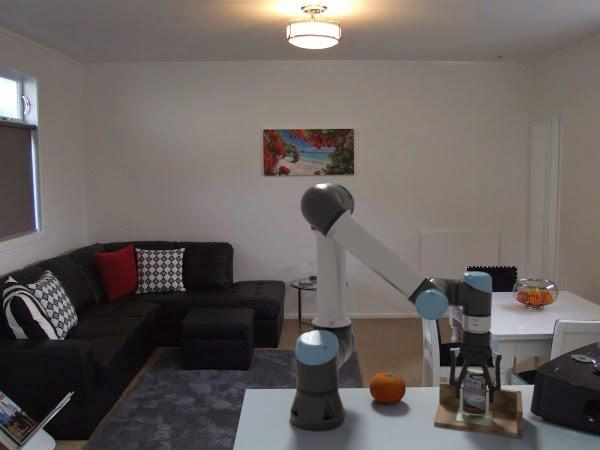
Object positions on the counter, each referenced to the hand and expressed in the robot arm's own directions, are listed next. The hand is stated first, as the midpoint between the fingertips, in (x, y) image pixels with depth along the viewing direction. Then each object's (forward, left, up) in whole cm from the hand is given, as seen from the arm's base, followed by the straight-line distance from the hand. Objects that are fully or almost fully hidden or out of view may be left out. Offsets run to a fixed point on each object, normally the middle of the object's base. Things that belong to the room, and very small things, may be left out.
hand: (474, 411), depth 153 cm
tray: (+1, 0, -2) cm, 3 cm away
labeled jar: (0, 0, -1) cm, 1 cm away
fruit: (-25, +5, -3) cm, 26 cm away
